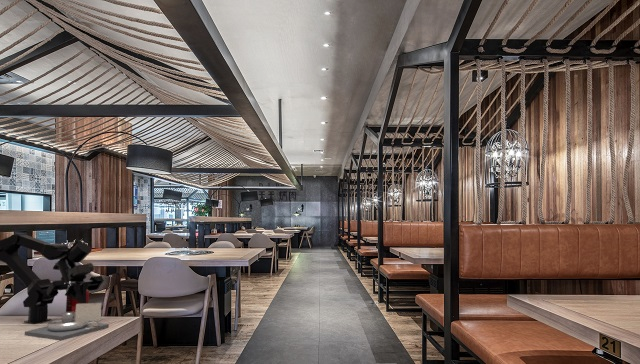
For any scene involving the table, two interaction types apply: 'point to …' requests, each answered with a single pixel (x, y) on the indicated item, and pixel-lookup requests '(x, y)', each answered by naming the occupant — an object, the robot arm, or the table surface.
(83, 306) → the dial
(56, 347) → the table surface
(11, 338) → the table surface
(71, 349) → the table surface
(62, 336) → the panel
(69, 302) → the canned food
